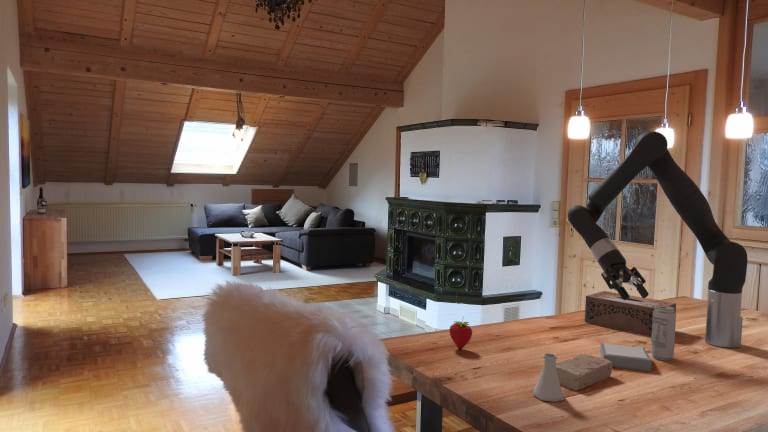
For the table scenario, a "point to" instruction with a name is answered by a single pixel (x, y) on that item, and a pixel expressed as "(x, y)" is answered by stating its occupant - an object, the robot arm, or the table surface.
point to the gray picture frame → (626, 356)
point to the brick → (583, 371)
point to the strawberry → (460, 333)
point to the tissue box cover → (622, 312)
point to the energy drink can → (663, 333)
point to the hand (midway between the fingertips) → (636, 297)
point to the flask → (549, 381)
